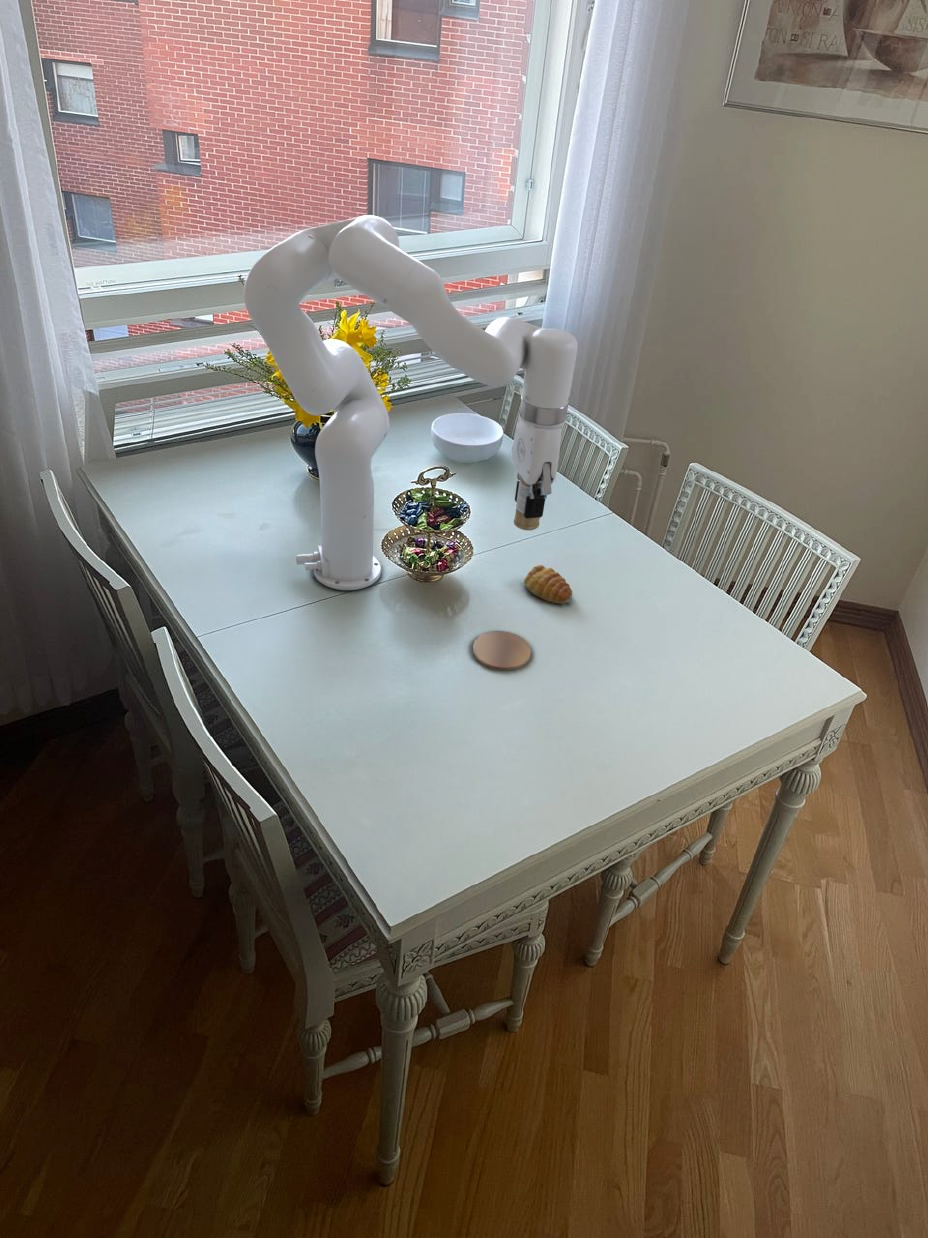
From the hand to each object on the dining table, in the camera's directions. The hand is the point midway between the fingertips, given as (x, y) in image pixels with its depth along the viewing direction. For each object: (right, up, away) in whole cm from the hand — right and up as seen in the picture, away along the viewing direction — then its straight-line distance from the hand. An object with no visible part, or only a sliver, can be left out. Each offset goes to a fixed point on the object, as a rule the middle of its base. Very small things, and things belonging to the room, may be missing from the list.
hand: (528, 508), depth 158 cm
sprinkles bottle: (0, -3, +2) cm, 4 cm away
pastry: (+5, -14, +17) cm, 23 cm away
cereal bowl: (-11, +19, +59) cm, 63 cm away
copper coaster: (-4, -24, +2) cm, 25 cm away
